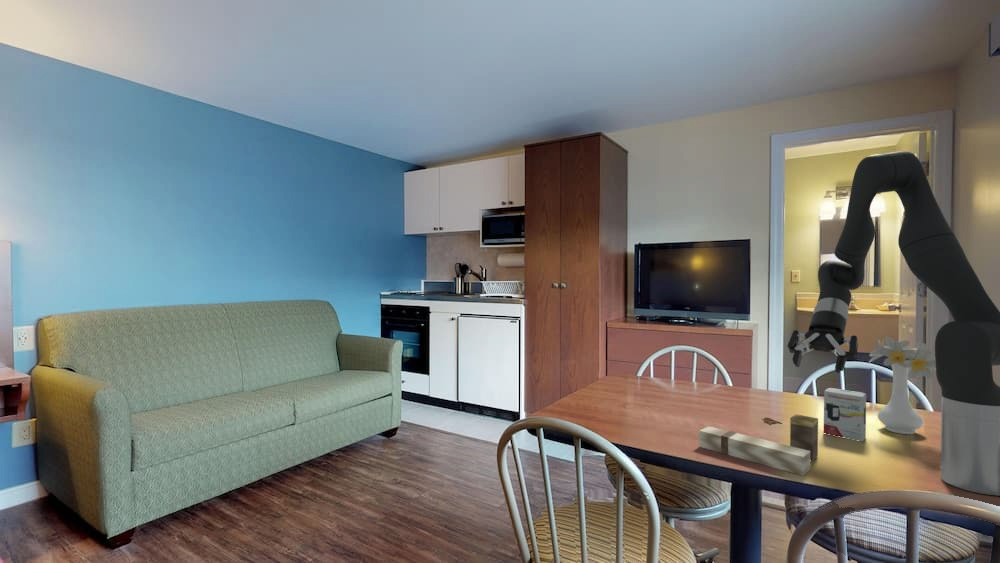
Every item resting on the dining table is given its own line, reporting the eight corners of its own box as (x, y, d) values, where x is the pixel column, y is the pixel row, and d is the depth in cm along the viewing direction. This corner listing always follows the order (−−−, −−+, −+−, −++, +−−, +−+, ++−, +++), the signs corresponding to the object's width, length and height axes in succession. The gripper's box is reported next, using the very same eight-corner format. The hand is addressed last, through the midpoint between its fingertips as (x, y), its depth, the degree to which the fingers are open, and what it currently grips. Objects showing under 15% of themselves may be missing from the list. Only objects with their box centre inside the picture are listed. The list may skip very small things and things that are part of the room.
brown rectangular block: (817, 457, 105) (818, 418, 105) (812, 462, 102) (812, 422, 102) (795, 451, 109) (796, 414, 109) (790, 456, 106) (790, 417, 106)
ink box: (822, 434, 121) (822, 390, 121) (826, 429, 124) (826, 387, 124) (863, 442, 115) (863, 396, 115) (866, 437, 118) (866, 392, 118)
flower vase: (904, 443, 114) (905, 344, 114) (854, 420, 133) (855, 335, 132) (960, 445, 113) (961, 345, 113) (902, 421, 131) (902, 335, 131)
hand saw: (716, 403, 152) (716, 401, 152) (728, 403, 153) (728, 401, 153) (769, 426, 128) (769, 424, 128) (783, 425, 129) (783, 423, 129)
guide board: (810, 469, 98) (810, 450, 98) (803, 476, 95) (803, 456, 95) (708, 441, 115) (708, 425, 115) (699, 446, 111) (699, 430, 111)
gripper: (795, 307, 123) (780, 354, 116) (861, 311, 113) (850, 363, 106) (800, 325, 127) (786, 371, 120) (864, 330, 117) (854, 382, 109)
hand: (816, 367), depth 113 cm, fingers open, 8 cm apart
